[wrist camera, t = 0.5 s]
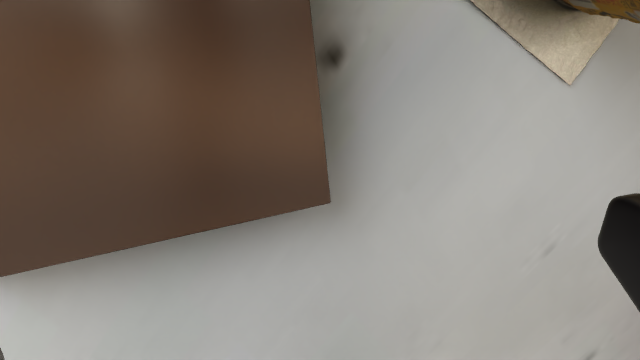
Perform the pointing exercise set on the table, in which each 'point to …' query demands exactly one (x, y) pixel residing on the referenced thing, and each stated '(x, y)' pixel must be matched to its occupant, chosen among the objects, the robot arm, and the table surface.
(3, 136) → the shelf
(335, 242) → the table surface
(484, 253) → the table surface
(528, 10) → the condiment
